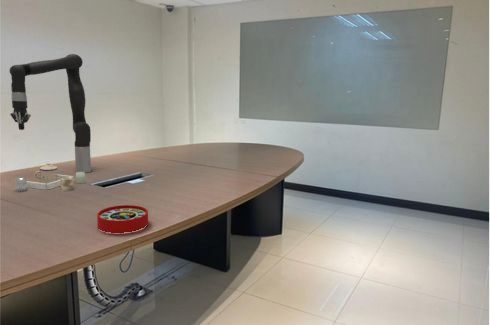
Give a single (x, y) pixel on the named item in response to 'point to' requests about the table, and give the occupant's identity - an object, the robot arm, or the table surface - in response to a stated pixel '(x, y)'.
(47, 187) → the sorting bay
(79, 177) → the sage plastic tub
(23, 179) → the metal cylinder
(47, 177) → the teacup with lid
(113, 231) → the toy clock
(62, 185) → the birch block
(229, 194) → the table surface
